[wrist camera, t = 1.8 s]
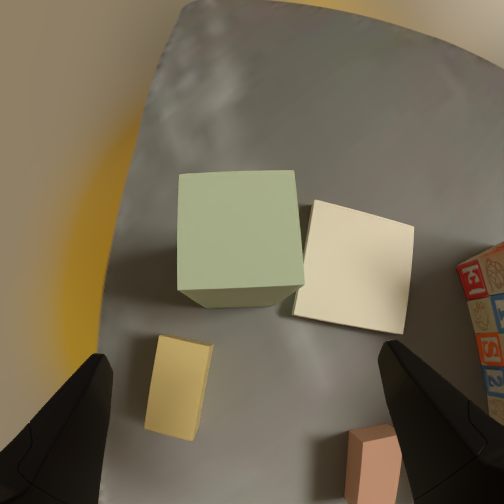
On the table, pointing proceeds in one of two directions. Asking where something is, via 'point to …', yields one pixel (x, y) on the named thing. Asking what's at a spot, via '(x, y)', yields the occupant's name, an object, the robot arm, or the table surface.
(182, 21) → the table surface
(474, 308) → the stack of blocks
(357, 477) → the terracotta brick
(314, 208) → the cream square slab
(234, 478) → the table surface
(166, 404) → the ochre brick
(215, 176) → the sage brick
